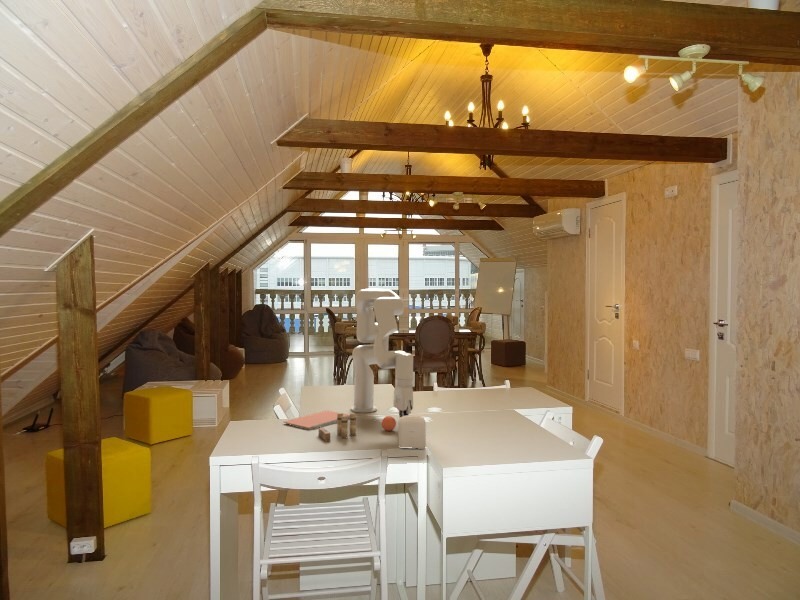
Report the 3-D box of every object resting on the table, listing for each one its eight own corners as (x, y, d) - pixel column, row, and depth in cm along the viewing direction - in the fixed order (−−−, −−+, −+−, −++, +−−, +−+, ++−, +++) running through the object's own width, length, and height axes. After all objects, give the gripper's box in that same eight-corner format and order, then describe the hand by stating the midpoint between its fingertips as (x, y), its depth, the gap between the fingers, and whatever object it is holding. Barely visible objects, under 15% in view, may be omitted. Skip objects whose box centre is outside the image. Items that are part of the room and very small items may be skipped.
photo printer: (398, 449, 198) (398, 416, 198) (398, 446, 202) (398, 413, 202) (425, 450, 198) (426, 416, 197) (425, 446, 202) (425, 414, 202)
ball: (379, 429, 225) (379, 415, 225) (392, 428, 228) (392, 414, 228) (385, 433, 220) (385, 418, 220) (398, 431, 222) (398, 417, 222)
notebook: (310, 432, 222) (310, 427, 222) (283, 425, 232) (283, 421, 232) (353, 419, 244) (353, 415, 244) (326, 413, 254) (326, 409, 254)
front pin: (348, 434, 218) (349, 413, 217) (354, 433, 219) (354, 412, 218) (350, 435, 215) (351, 414, 215) (356, 435, 216) (356, 414, 216)
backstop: (318, 435, 215) (318, 428, 215) (323, 434, 216) (323, 427, 216) (325, 441, 207) (325, 433, 207) (330, 440, 208) (330, 433, 208)
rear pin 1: (336, 433, 218) (336, 413, 218) (342, 433, 219) (342, 412, 219) (338, 435, 216) (338, 414, 215) (344, 434, 217) (344, 414, 216)
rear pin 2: (340, 437, 213) (340, 415, 213) (346, 436, 214) (346, 415, 214) (342, 438, 211) (342, 417, 211) (348, 438, 212) (348, 416, 212)
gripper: (388, 380, 231) (388, 422, 232) (404, 386, 218) (403, 430, 218) (403, 378, 235) (403, 420, 235) (420, 384, 221) (419, 428, 222)
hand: (403, 425), depth 227 cm, fingers closed
